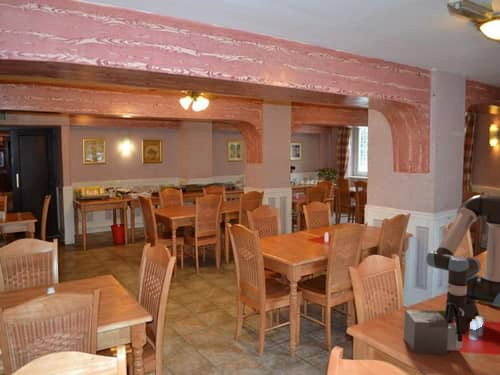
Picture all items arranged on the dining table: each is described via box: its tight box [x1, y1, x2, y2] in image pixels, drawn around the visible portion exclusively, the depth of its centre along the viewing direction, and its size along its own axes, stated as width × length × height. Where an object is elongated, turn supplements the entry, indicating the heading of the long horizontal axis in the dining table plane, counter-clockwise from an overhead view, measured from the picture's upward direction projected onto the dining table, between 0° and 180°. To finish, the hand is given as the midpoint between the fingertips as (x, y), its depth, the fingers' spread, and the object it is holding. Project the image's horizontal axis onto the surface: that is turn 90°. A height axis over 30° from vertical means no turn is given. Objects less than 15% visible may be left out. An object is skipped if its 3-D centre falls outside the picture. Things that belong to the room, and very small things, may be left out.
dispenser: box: [403, 309, 449, 355], centre depth 179 cm, size 14×13×14 cm
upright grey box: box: [447, 323, 460, 352], centre depth 179 cm, size 10×5×10 cm, turn 87°
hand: (453, 342), depth 179 cm, fingers open, 9 cm apart
